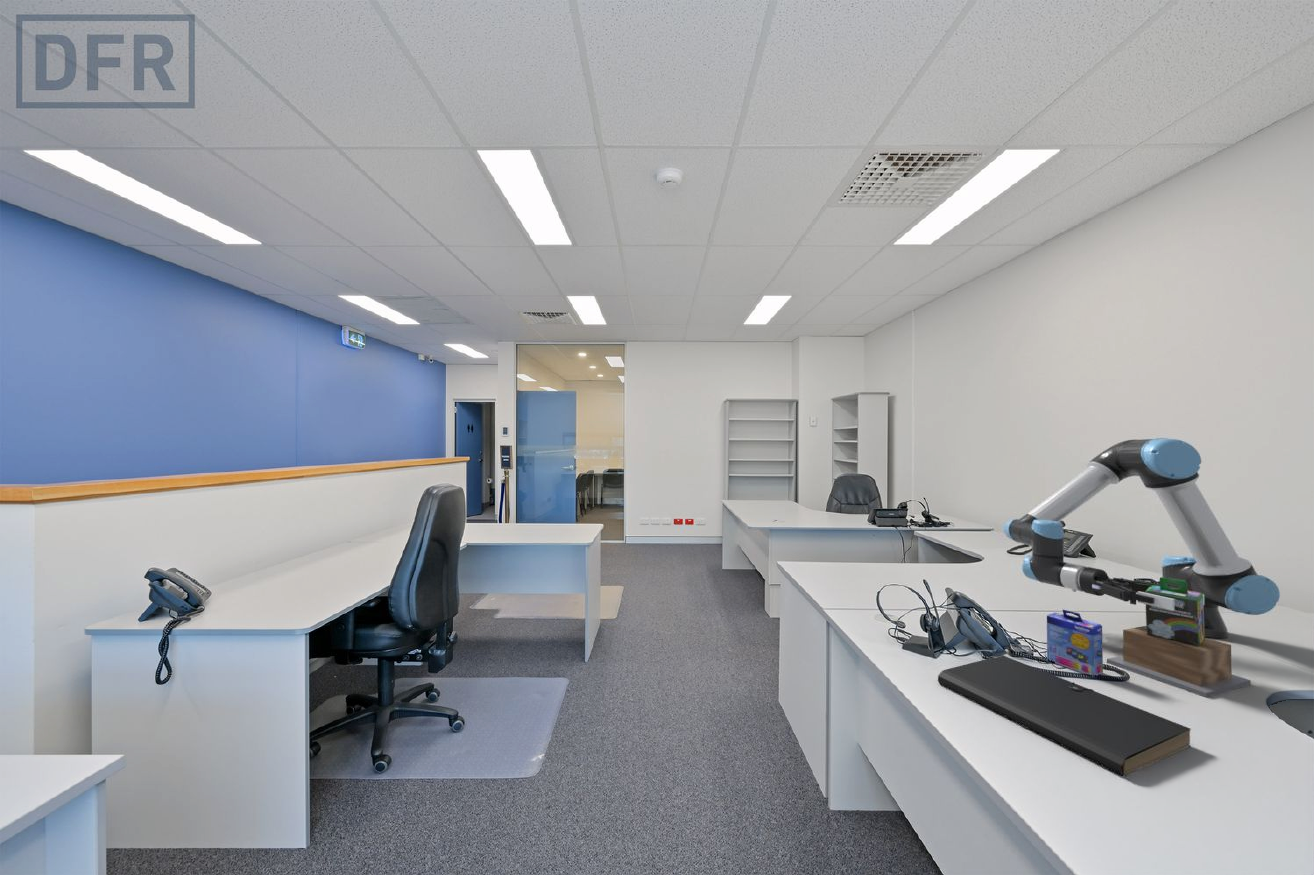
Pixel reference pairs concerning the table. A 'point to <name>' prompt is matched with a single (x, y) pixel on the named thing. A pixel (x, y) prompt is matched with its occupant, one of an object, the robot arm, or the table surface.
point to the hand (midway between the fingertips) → (1189, 602)
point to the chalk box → (1176, 614)
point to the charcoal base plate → (1203, 690)
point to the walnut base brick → (1178, 657)
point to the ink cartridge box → (1075, 643)
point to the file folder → (1069, 713)
